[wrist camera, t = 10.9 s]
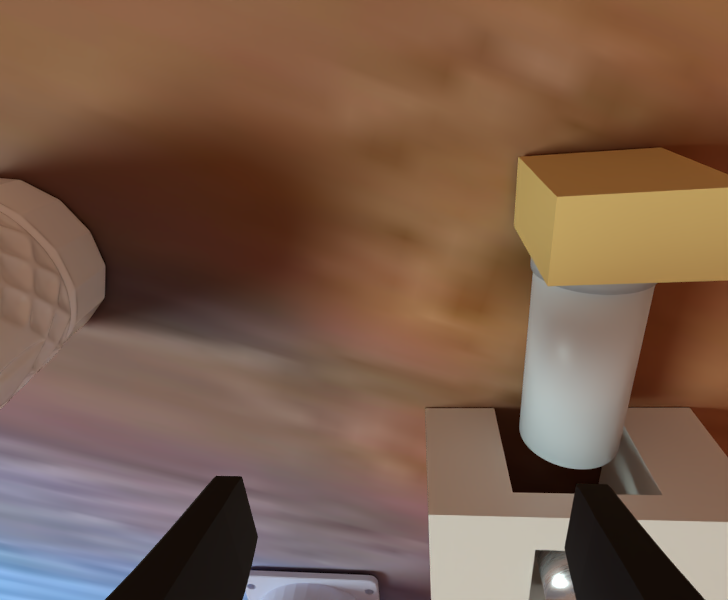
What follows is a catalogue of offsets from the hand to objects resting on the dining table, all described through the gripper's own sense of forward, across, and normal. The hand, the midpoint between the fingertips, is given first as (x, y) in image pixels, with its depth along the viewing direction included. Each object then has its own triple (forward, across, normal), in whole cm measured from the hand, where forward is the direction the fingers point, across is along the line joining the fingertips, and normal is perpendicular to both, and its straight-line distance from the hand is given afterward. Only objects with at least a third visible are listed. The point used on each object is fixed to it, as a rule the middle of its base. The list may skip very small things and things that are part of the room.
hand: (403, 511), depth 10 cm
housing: (+10, -6, +10) cm, 15 cm away
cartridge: (+9, -6, 0) cm, 11 cm away
